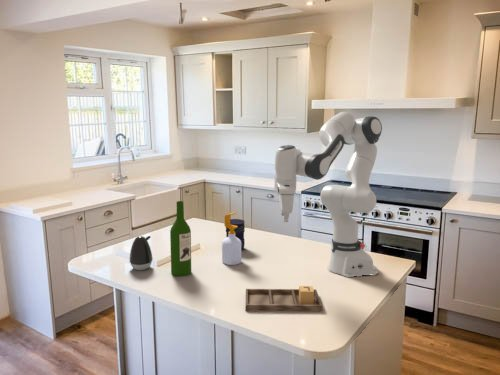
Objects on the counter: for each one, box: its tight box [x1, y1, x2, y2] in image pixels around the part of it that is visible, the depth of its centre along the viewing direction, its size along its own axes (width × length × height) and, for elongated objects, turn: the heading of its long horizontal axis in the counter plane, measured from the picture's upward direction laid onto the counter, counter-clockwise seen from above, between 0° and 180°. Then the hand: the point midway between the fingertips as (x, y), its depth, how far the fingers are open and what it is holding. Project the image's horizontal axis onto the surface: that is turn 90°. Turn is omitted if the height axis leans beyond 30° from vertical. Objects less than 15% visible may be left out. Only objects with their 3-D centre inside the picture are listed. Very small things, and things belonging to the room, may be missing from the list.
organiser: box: [245, 288, 323, 312], centre depth 159 cm, size 28×14×2 cm, turn 90°
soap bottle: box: [221, 211, 242, 266], centre depth 199 cm, size 9×9×25 cm
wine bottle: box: [169, 200, 192, 278], centre depth 184 cm, size 9×9×32 cm
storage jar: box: [225, 218, 246, 252], centre depth 218 cm, size 10×10×15 cm
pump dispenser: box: [129, 235, 154, 271], centre depth 190 cm, size 10×10×15 cm
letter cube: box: [298, 285, 314, 304], centre depth 159 cm, size 5×5×5 cm
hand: (284, 218), depth 173 cm, fingers open, 8 cm apart
